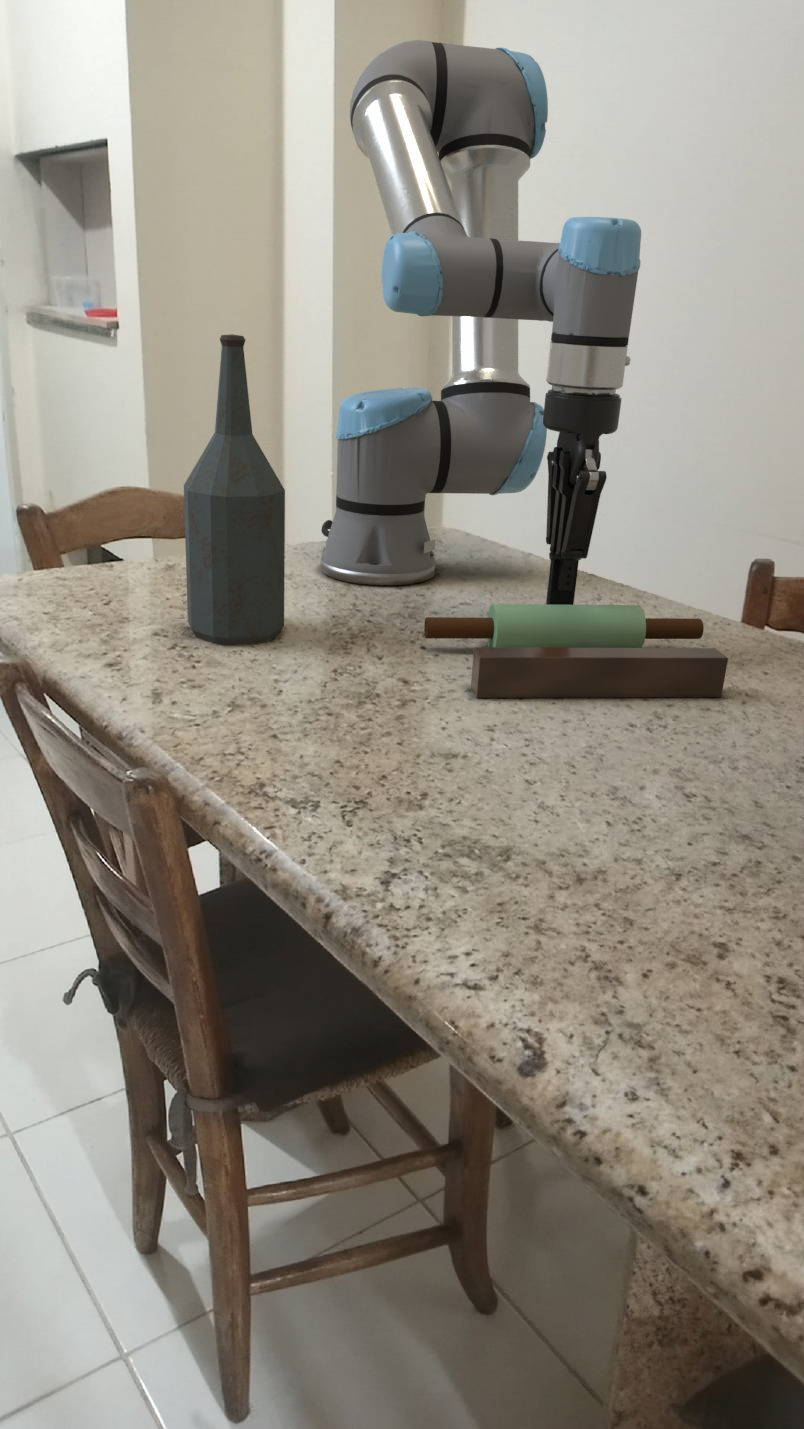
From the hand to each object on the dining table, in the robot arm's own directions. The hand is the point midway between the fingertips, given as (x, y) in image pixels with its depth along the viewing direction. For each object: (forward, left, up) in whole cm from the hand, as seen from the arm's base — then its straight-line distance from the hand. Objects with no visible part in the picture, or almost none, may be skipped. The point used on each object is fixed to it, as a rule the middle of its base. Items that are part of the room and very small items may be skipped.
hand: (558, 616), depth 111 cm
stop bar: (+13, -9, -3) cm, 16 cm away
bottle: (-22, -27, -3) cm, 35 cm away
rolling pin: (+2, -1, +2) cm, 3 cm away
